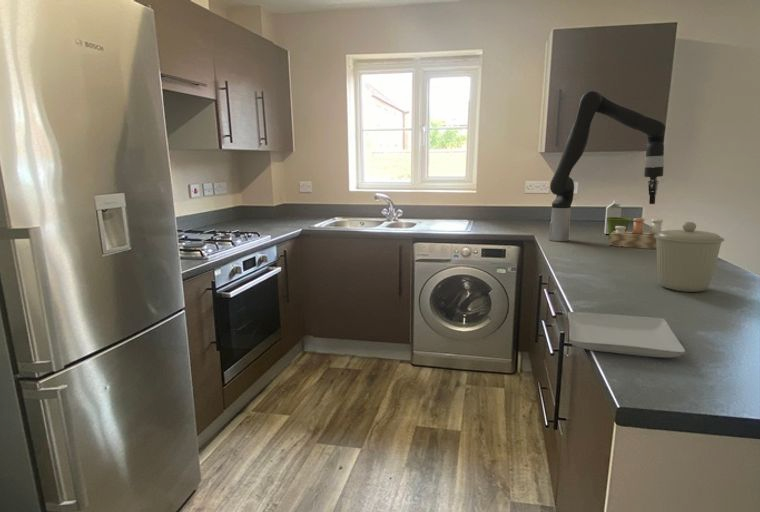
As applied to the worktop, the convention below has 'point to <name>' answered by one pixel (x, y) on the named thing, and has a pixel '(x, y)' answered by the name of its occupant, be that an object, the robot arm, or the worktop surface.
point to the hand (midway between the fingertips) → (652, 204)
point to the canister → (686, 258)
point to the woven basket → (633, 240)
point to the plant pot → (617, 223)
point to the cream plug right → (656, 226)
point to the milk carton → (612, 213)
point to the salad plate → (623, 334)
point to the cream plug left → (620, 229)
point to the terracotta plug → (638, 226)
